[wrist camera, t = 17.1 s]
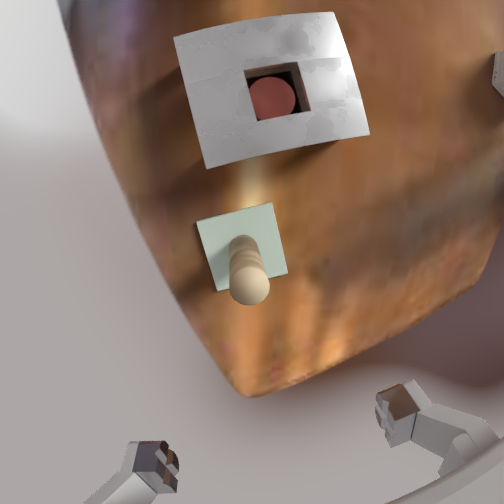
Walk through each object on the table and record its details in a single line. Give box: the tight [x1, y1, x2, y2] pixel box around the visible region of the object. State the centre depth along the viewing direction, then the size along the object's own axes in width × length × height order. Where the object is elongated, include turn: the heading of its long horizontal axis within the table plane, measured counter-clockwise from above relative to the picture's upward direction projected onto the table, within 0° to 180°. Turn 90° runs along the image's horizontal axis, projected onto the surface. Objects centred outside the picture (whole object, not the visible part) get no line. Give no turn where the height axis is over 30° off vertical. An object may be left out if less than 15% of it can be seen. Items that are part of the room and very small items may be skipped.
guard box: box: [173, 12, 370, 169], centre depth 24 cm, size 14×12×7 cm
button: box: [249, 77, 295, 121], centre depth 26 cm, size 4×4×3 cm
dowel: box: [229, 235, 270, 305], centre depth 27 cm, size 3×3×10 cm
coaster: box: [196, 202, 288, 291], centre depth 32 cm, size 8×8×1 cm
